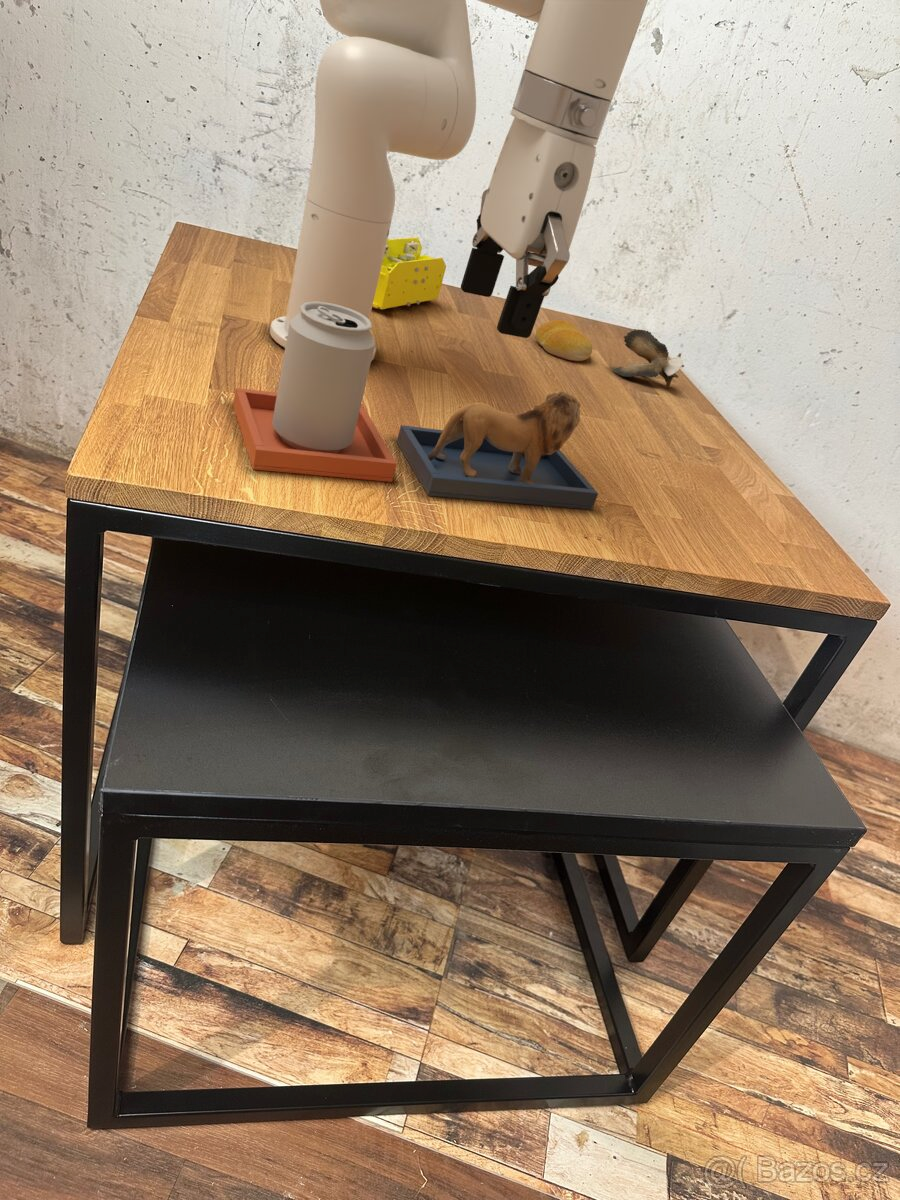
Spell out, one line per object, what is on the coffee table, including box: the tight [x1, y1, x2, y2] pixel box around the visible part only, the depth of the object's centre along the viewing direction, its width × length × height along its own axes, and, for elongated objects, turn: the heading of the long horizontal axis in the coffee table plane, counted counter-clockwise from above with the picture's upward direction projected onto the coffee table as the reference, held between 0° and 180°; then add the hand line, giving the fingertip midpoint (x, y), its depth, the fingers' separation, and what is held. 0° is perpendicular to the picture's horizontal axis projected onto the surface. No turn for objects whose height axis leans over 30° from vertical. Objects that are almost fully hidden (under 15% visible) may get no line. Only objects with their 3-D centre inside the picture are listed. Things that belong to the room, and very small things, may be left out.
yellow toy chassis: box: [372, 237, 447, 311], centre depth 125 cm, size 16×6×8 cm, turn 150°
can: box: [272, 302, 376, 454], centre depth 77 cm, size 8×8×12 cm
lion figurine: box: [427, 391, 581, 484], centre depth 83 cm, size 15×5×9 cm, turn 110°
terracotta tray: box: [232, 387, 397, 483], centre depth 80 cm, size 13×13×2 cm
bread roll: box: [535, 319, 593, 362], centre depth 129 cm, size 8×9×4 cm
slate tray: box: [396, 424, 599, 511], centre depth 85 cm, size 11×18×2 cm, turn 109°
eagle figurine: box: [612, 328, 685, 389], centre depth 128 cm, size 8×7×9 cm
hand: (493, 313), depth 80 cm, fingers open, 9 cm apart
